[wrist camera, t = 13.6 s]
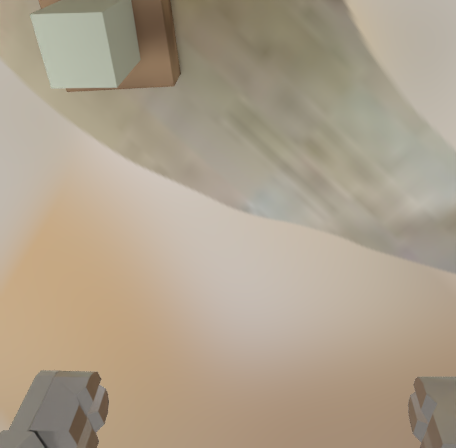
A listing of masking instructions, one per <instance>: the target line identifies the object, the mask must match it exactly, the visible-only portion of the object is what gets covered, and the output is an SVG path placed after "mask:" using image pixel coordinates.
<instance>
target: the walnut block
mask: <svg viewBox="0 0 456 448" xmlns="http://www.w3.org/2000/svg"><path fill="white" fill-rule="evenodd" d="M58 1H60V0H39V3H40V7H41V9H42V8H45V7H47V6H49V5H51V4H54V3H56V2H58ZM131 2H132V8H133V15H134V21H135V27H136V34H137V40H138V47H139V53H140V59H141V60H140V61H139V62H138V64H137V65H136V66H135V67H134V68H133V69H132V71H131V72H130V73H129V74H128V75H127V77H126V78H125V79H124V80H123V81H122V82H121V84H120V85H119V86H118V87H117V88H66V91H67V92H74V91H93V90H112V89H130V88H149V87H168V86H174V85H175V83H176V81H177V80H178V78H179V76H180V74H181V73H180V66H179V59H178V52H177V45H176V38H175V31H174V24H173V17H172V10H171V2H170V0H131Z"/></svg>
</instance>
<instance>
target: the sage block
mask: <svg viewBox="0 0 456 448" xmlns="http://www.w3.org/2000/svg"><path fill="white" fill-rule="evenodd" d="M30 17H31V20H32V24H33V27H34V31H35V34H36V37H37V41H38V44H39V48H40V51H41V55H42V58H43V61H44V65H45V68H46V72H47V75H48V79H49V82H50V85H51V88H117V87H118V86H119V85H120V84H121V82H122V81H123V80H124V79H125V78H126V77H127V75H128V74H129V73H130V72H131V71H132V69H133V68H134V67H135V66H136V65H137V64H138V62H139V61H140V60H141V59H140V53H139V47H138V40H137V34H136V27H135V21H134V15H133V8H132V2H131V0H60V1H58V2H56V3H54V4H51V5H49V6H47V7H45V8H42V9H40V10H38V11H36V12H34V13H31V14H30Z"/></svg>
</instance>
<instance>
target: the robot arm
mask: <svg viewBox="0 0 456 448" xmlns="http://www.w3.org/2000/svg"><path fill="white" fill-rule="evenodd" d="M100 381H101V378H100V376H99V374H98V372H85V371H46V370H45V371H44V370H43V371H40V373H38V374H37V375H36V377H35V378H34V380H33V382H32V385H31V386H30V388H29V390H28V392H27V395H26V396H25V398H24V400H23V402H22V404H21V406H20V408H19V410H18V412H17V414H16V416H15V418H14V420H13V422H12V424H11V426H10V428H9V430H3V431H2V432H1V433H0V448H97V446H98V442H99V440H98V437H97V434H96V432H97V431H98V430H99V429H100V428H101V427H102V426H103V425H104V424H105V420H106V417H107V414H108V405H109V400H108V393H107V391H106V389H105V388H104V387H102V386H100V385H99V384H100ZM414 388H415V393H413V394H411V395H410V399H409V404H408V407H409V419H410V424H411V428H412V432H413V434H414V435H415V436H416V437H417V438H418V440H419V441H420V442H421V446H420V448H456V377H417V378H416V379H415V382H414Z"/></svg>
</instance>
